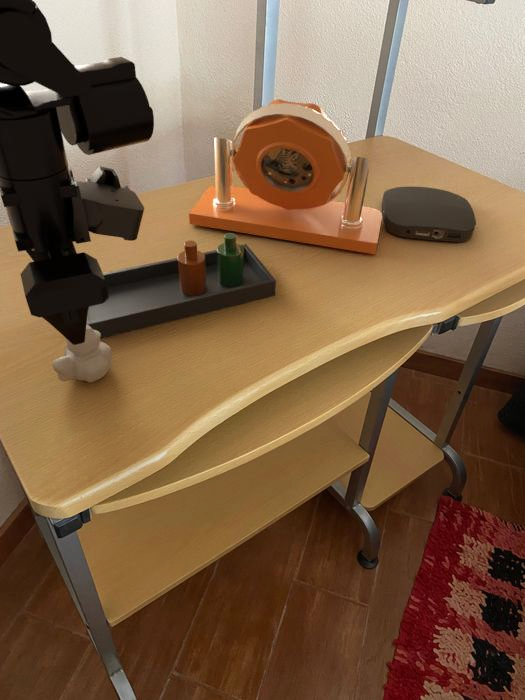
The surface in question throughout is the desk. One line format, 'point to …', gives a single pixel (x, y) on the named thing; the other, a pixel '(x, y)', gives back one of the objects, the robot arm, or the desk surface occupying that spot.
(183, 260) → the amber bottle
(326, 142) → the desk clock
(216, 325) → the desk surface
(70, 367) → the white rounded lumpy piece
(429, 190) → the media streaming box
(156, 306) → the tray
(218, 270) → the green bottle
